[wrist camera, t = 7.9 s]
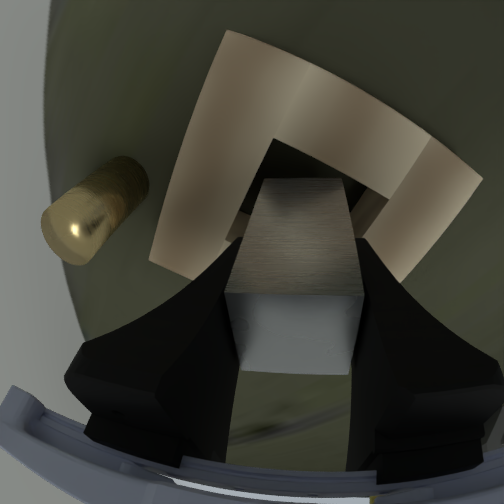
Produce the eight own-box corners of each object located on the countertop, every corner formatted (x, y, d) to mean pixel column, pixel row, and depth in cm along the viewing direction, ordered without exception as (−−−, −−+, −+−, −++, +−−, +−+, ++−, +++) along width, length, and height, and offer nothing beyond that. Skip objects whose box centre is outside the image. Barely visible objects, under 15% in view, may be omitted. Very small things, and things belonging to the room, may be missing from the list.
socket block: (457, 155, 13) (483, 178, 10) (340, 306, 20) (342, 341, 18) (242, 34, 12) (227, 29, 9) (168, 230, 19) (148, 260, 16)
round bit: (154, 167, 16) (95, 223, 12) (143, 212, 18) (91, 275, 13) (108, 149, 16) (40, 196, 11) (100, 193, 18) (42, 248, 13)
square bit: (341, 178, 12) (364, 295, 7) (338, 243, 14) (348, 374, 8) (264, 178, 13) (224, 292, 7) (269, 242, 15) (241, 370, 9)
